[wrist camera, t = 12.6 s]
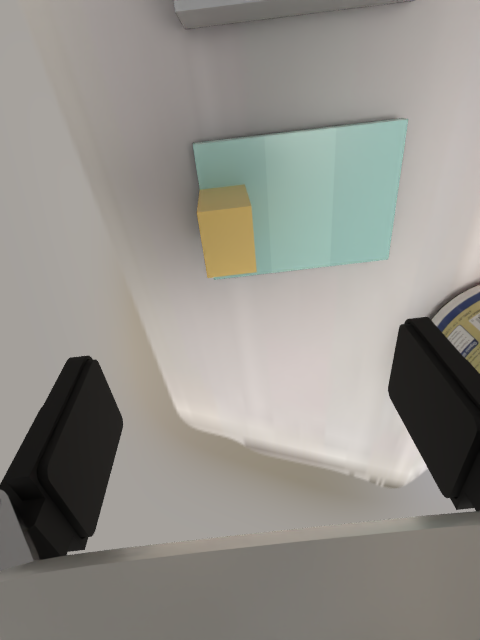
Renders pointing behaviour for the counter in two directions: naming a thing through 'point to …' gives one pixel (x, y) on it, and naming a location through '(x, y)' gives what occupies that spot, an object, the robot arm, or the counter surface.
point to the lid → (299, 198)
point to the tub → (258, 9)
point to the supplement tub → (463, 324)
